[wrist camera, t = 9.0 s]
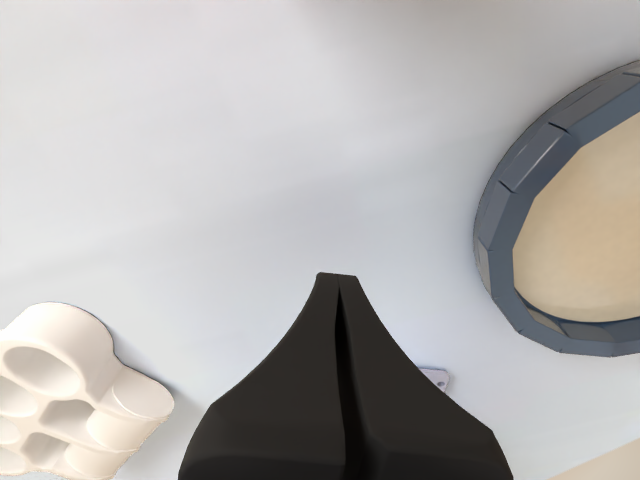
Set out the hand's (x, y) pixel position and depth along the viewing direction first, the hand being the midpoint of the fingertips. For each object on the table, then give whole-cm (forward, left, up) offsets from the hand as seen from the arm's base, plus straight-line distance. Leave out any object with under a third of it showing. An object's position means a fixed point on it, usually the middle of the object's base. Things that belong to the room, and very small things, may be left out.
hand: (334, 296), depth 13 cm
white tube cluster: (-18, +19, -8) cm, 28 cm away
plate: (+1, -16, -8) cm, 18 cm away
